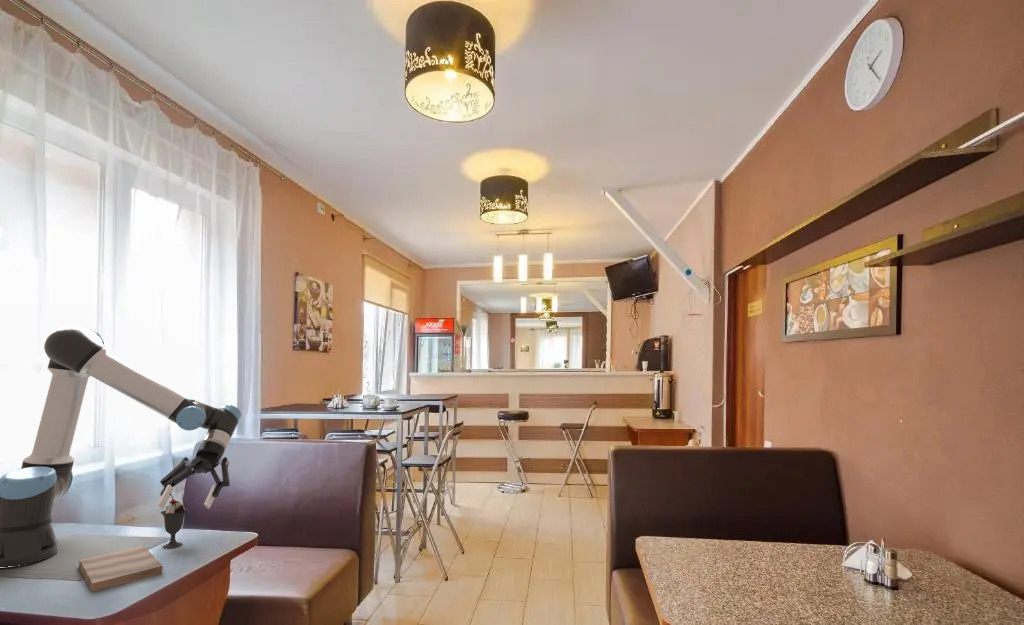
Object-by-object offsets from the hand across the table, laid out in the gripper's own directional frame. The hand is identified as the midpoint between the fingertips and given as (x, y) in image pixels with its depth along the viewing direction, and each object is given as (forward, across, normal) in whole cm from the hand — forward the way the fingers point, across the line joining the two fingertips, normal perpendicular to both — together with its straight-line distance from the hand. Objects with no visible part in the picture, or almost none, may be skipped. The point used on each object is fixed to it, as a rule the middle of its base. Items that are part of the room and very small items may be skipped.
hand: (183, 506), depth 151 cm
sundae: (+9, +1, -6) cm, 11 cm away
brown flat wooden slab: (+21, +4, +6) cm, 23 cm away
